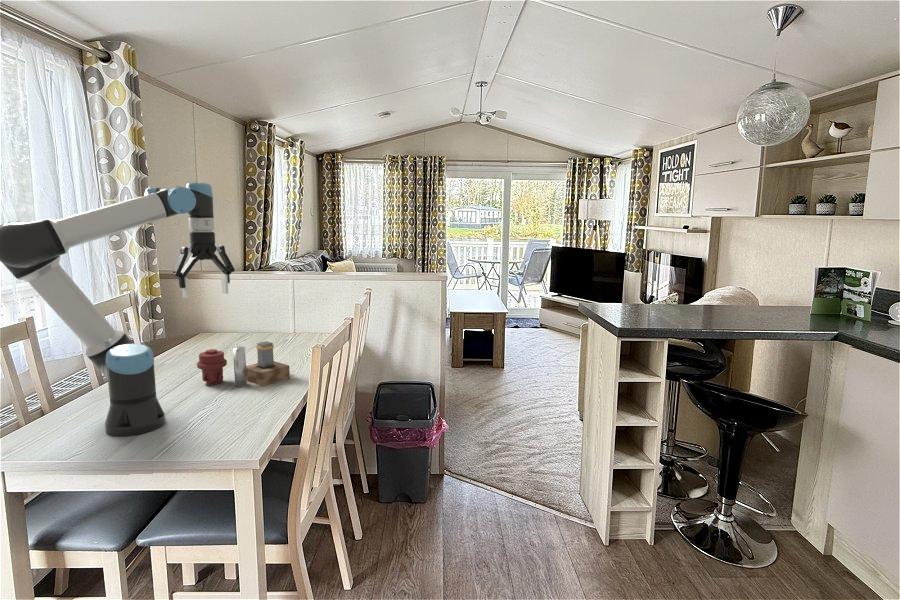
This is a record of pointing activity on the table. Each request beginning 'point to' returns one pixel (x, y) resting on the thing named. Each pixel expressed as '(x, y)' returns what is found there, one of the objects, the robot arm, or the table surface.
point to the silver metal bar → (239, 366)
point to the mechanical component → (212, 366)
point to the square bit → (265, 355)
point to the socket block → (267, 374)
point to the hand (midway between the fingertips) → (206, 295)
